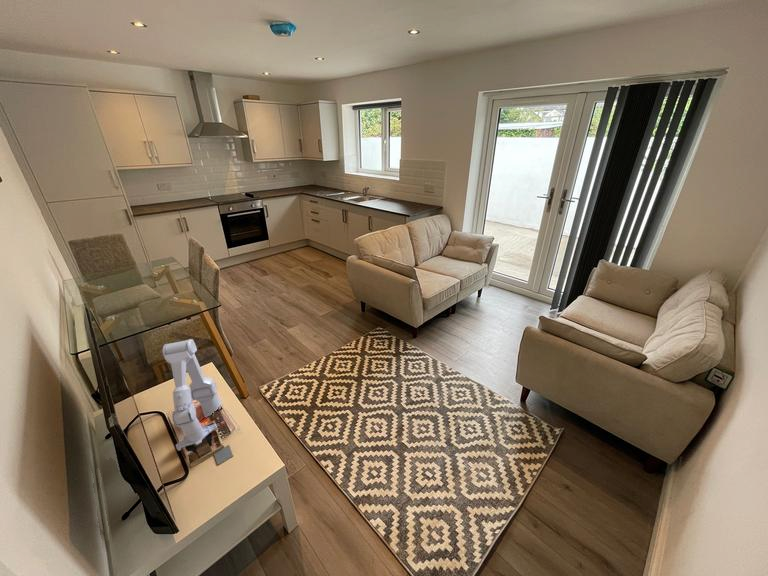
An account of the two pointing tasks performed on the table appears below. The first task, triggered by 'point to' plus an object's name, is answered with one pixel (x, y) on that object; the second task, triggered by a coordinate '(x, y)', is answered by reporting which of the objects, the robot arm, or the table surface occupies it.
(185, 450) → the beech tray
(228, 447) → the slate coaster
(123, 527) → the table surface
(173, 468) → the table surface
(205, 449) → the walnut block
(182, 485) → the table surface
